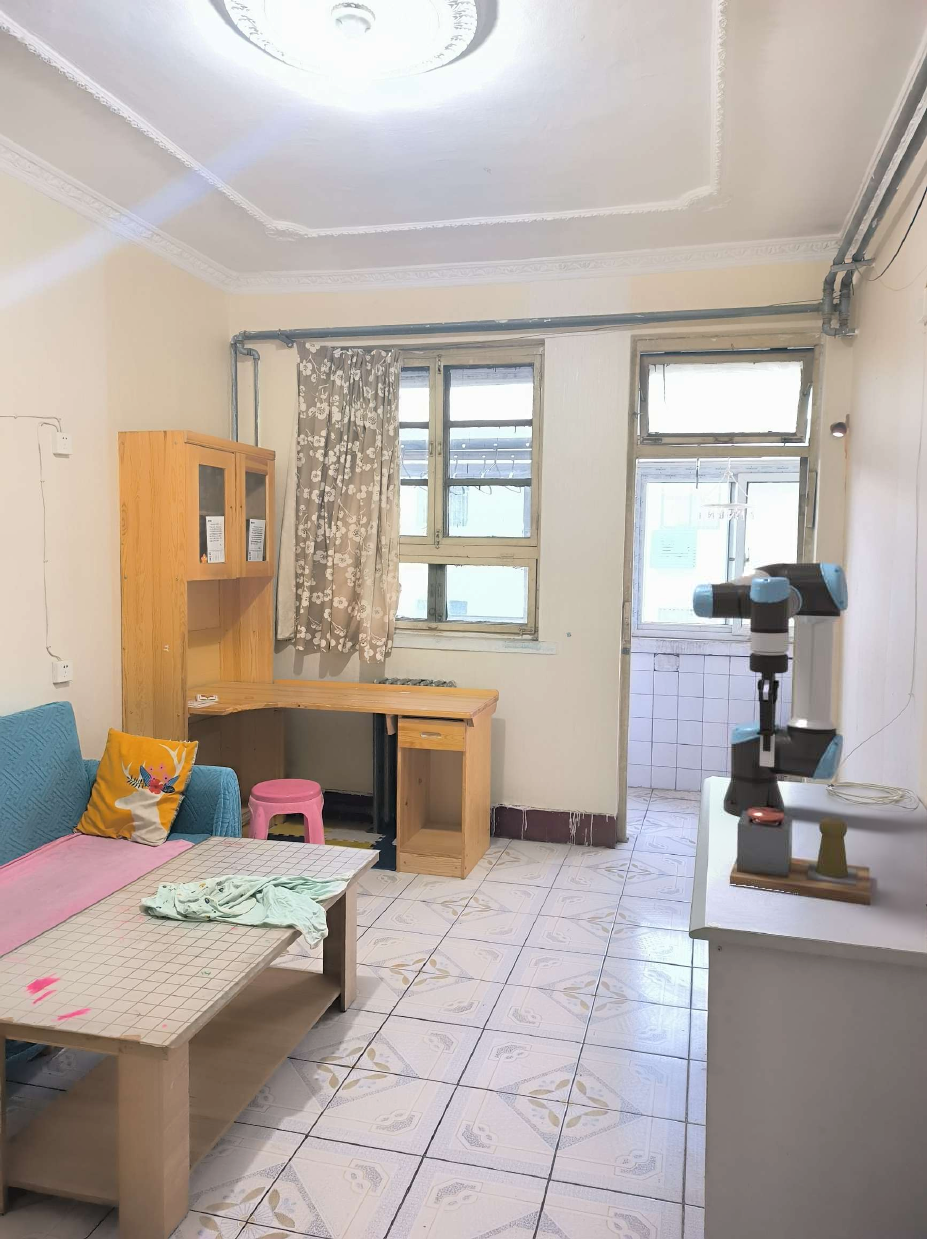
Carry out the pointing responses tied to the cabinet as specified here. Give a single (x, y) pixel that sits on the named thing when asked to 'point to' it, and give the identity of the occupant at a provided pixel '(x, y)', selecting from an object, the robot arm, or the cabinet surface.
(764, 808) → the press plunger
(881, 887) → the cabinet surface
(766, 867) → the grey push button box
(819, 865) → the olive knobbed peg
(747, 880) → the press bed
